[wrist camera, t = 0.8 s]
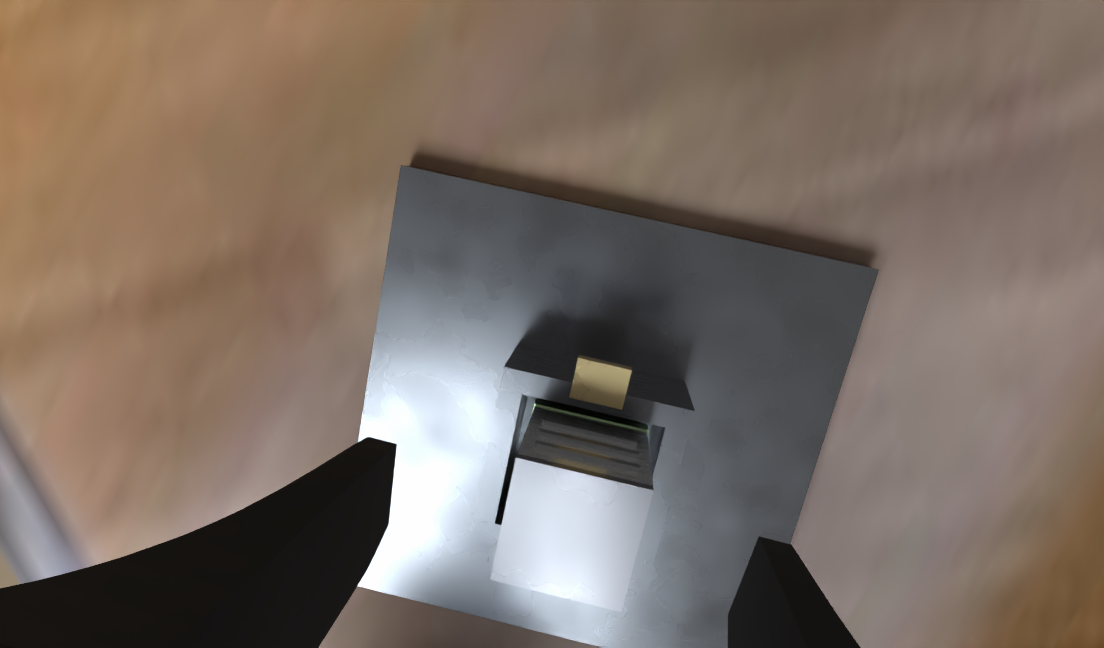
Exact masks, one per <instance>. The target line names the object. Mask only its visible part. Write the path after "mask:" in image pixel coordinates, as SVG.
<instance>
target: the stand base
mask: <svg viewBox="0 0 1104 648" xmlns="http://www.w3.org/2000/svg"><path fill="white" fill-rule="evenodd" d="M877 274H878V269H875V268H872V267H869V266H865V265H861V264H856V263H852V262H847V261H842V260H838V259H833V258H829V257H824V256H819V255H815V254H810V253H806V252H801V251H797V250H792V249H787V248H783V247H778V246H774V245H769V244H764V243H760V242H755V241H751V240H746V239H742V238H737V237H732V236H728V235H723V234H719V233H714V232H709V231H705V230H700V229H696V228H691V227H687V226H682V225H677V224H673V223H668V222H664V221H659V220H654V219H650V218H645V217H641V216H636V215H632V214H627V213H622V212H618V211H613V210H609V209H604V208H599V207H595V206H590V205H586V204H581V203H577V202H572V201H567V200H563V199H558V198H554V197H549V196H544V195H540V194H535V193H531V192H526V191H522V190H517V189H512V188H508V187H503V186H499V185H494V184H489V183H485V182H480V181H476V180H471V179H467V178H462V177H457V176H453V175H448V174H444V173H439V172H434V171H430V170H425V169H421V168H416V167H412V166H403V165H401V168H400V174H399V181H398V187H397V194H396V200H395V207H394V213H393V220H392V226H391V232H390V239H389V245H388V252H387V258H386V265H385V271H384V278H383V284H382V291H381V297H380V304H379V310H378V317H377V323H376V329H375V336H374V342H373V349H372V355H371V362H370V368H369V375H368V381H367V388H366V394H365V401H364V407H363V413H362V420H361V426H360V433H359V439H358V442H360V441H361V440H363V439H365V438H366V437H371V438H375V439H379V440H383V441H387V442H391V443H395V444H397V448H396V458H395V468H394V477H393V487H392V497H391V507H390V517H389V525H388V527H387V529H386V532H385V534H384V536H383V538H382V540H381V542H380V545H379V547H378V549H377V551H376V553H375V555H374V557H373V559H372V561H371V563H370V565H369V567H368V569H367V571H366V573H365V574H364V576H363V578H362V579H361V581H360V582H359V584H358V586H359V587H363V588H367V589H371V590H375V591H379V592H383V593H387V594H391V595H395V596H399V597H403V598H407V599H411V600H415V601H419V602H423V603H427V604H431V605H435V606H439V607H443V608H447V609H451V610H455V611H459V612H463V613H467V614H471V615H475V616H479V617H483V618H487V619H491V620H495V621H499V622H503V623H507V624H511V625H515V626H519V627H523V628H526V629H530V630H534V631H538V632H542V633H546V634H550V635H554V636H558V637H562V638H566V639H570V640H574V641H578V642H582V643H586V644H590V645H594V646H598V647H602V648H728V613H729V610H730V608H731V605H732V603H733V600H734V598H735V595H736V593H737V590H738V588H739V585H740V583H741V580H742V578H743V575H744V572H745V570H746V567H747V565H748V562H749V560H750V557H751V555H752V552H753V550H754V547H755V545H756V542H757V540H758V537H759V536H760V537H764V538H768V539H772V540H776V541H779V542H783V543H787V544H790V542H791V539H792V536H793V533H794V530H795V527H796V524H797V521H798V517H799V514H800V511H801V508H802V505H803V502H804V499H805V496H806V493H807V490H808V487H809V484H810V480H811V477H812V474H813V471H814V468H815V465H816V462H817V459H818V456H819V453H820V450H821V446H822V443H823V440H824V437H825V434H826V431H827V428H828V425H829V422H830V419H831V416H832V412H833V409H834V406H835V403H836V400H837V397H838V394H839V391H840V388H841V385H842V382H843V379H844V375H845V372H846V369H847V366H848V363H849V360H850V357H851V354H852V351H853V348H854V345H855V341H856V338H857V335H858V332H859V329H860V326H861V323H862V320H863V317H864V314H865V311H866V307H867V304H868V301H869V298H870V295H871V292H872V289H873V286H874V283H875V280H876V277H877ZM536 398H541V399H545V400H550V401H554V402H558V403H563V404H567V405H571V406H575V407H580V408H584V409H588V410H592V411H597V412H601V413H605V414H610V415H614V416H618V417H622V418H627V419H631V420H635V421H640V422H644V423H646V424H648V429H649V431H648V435H647V436H648V445H649V454H650V462H651V471H652V479H653V488H654V492H653V495H652V499H651V503H650V507H649V510H648V514H647V518H646V522H645V525H644V529H643V533H642V537H641V540H640V544H639V548H638V552H637V555H636V559H635V563H634V566H633V570H632V574H631V578H630V581H629V585H628V589H627V593H626V596H625V600H624V604H623V608H622V611H621V612H618V611H614V610H610V609H606V608H602V607H598V606H594V605H590V604H586V603H582V602H578V601H574V600H570V599H566V598H562V597H558V596H554V595H550V594H546V593H542V592H538V591H534V590H530V589H526V588H522V587H518V586H514V585H510V584H506V583H502V582H498V581H494V580H490V577H491V572H492V567H493V563H494V558H495V553H496V549H497V544H498V539H499V535H500V530H501V525H502V520H503V516H504V511H505V506H506V502H507V497H508V492H509V488H510V483H511V478H512V474H513V469H514V464H515V460H516V456H517V453H518V451H519V448H520V445H521V443H522V440H523V437H524V435H525V432H526V429H527V426H528V424H529V421H530V418H531V416H532V412H533V407H534V403H535V400H536Z"/></svg>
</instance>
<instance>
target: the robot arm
mask: <svg viewBox="0 0 1104 648" xmlns="http://www.w3.org/2000/svg"><path fill="white" fill-rule="evenodd" d="M396 448H397V444H395V443H391V442H387V441H383V440H379V439H375V438H371V437H366V438H365V439H363V440H361V441H360V442H358V443H356V444H354V445H353V446H351V447H349V448H348V449H346V450H345V451H343V452H341V453H340V454H338V455H337V456H335V457H333V458H332V459H330V460H329V461H327V462H325V463H324V464H322V465H320V466H319V467H317V468H316V469H314V470H312V471H311V472H309V473H307V474H305V475H304V476H302V477H300V478H299V479H297V480H295V481H293V482H292V483H290V484H288V485H287V486H285V487H283V488H281V489H280V490H278V491H276V492H274V493H272V494H270V495H268V496H267V497H265V498H263V499H261V500H259V501H257V502H255V503H253V504H251V505H249V506H248V507H246V508H244V509H242V510H240V511H238V512H236V513H234V514H231V515H229V516H227V517H225V518H223V519H221V520H218V521H216V522H214V523H212V524H209V525H207V526H204V527H202V528H200V529H197V530H195V531H193V532H190V533H188V534H185V535H183V536H180V537H178V538H175V539H172V540H169V541H167V542H164V543H161V544H158V545H155V546H152V547H150V548H147V549H144V550H141V551H138V552H136V553H133V554H130V555H127V556H124V557H121V558H118V559H115V560H111V561H108V562H105V563H101V564H98V565H94V566H91V567H88V568H84V569H80V570H77V571H73V572H69V573H65V574H62V575H58V576H54V577H50V578H46V579H42V580H38V581H33V582H29V583H24V584H19V585H15V586H10V587H5V588H1V589H0V648H318V647H319V645H320V644H321V642H322V641H323V639H324V638H325V636H326V634H327V633H328V631H329V630H330V628H331V627H332V625H333V623H334V622H335V620H336V619H337V617H338V616H339V614H340V612H341V611H342V609H343V608H344V606H345V605H346V603H347V601H348V600H349V598H350V597H351V595H352V593H353V592H354V590H355V589H356V587H357V586H358V584H359V582H360V581H361V579H362V578H363V576H364V574H365V573H366V571H367V569H368V567H369V565H370V563H371V561H372V559H373V557H374V555H375V553H376V551H377V549H378V547H379V545H380V542H381V540H382V538H383V536H384V534H385V532H386V529H387V527H388V525H389V517H390V507H391V497H392V487H393V477H394V468H395V458H396ZM728 648H860V646H859V645H858V644H857V642H856V641H855V639H854V638H853V637H852V635H851V634H850V632H849V631H848V630H847V628H846V627H845V625H844V624H843V622H842V621H841V619H840V618H839V616H838V615H837V614H836V612H835V611H834V609H833V608H832V606H831V605H830V603H829V602H828V600H827V599H826V597H825V596H824V594H823V592H822V591H821V589H820V588H819V586H818V585H817V583H816V582H815V580H814V579H813V577H812V576H811V574H810V572H809V571H808V569H807V568H806V566H805V565H804V563H803V562H802V560H801V559H800V557H799V556H798V554H797V552H796V551H795V550H794V548H793V547H792V545H791V544H787V543H783V542H779V541H776V540H772V539H768V538H764V537H760V536H759V537H758V540H757V542H756V545H755V547H754V550H753V552H752V555H751V557H750V560H749V562H748V565H747V567H746V570H745V572H744V575H743V578H742V580H741V583H740V585H739V588H738V590H737V593H736V595H735V598H734V600H733V603H732V605H731V608H730V610H729V613H728Z"/></svg>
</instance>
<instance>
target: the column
mask: <svg viewBox="0 0 1104 648" xmlns="http://www.w3.org/2000/svg"><path fill="white" fill-rule="evenodd" d="M648 431H649V429H648V424H646V423H644V422H640V421H635V420H631V419H627V418H622V417H618V416H614V415H610V414H605V413H601V412H597V411H592V410H588V409H584V408H580V407H575V406H571V405H567V404H563V403H558V402H554V401H550V400H545V399H541V398H536V400H535V403H534V407H533V412H532V416H531V418H530V421H529V424H528V426H527V429H526V432H525V435H524V437H523V440H522V443H521V445H520V448H519V451H518V453H517V456H516V460H515V464H514V469H513V474H512V478H511V483H510V488H509V492H508V497H507V502H506V506H505V511H504V516H503V520H502V525H501V530H500V535H499V539H498V544H497V549H496V553H495V558H494V563H493V567H492V572H491V577H490V580H494V581H498V582H502V583H506V584H510V585H514V586H518V587H522V588H526V589H530V590H534V591H538V592H542V593H546V594H550V595H554V596H558V597H562V598H566V599H570V600H574V601H578V602H582V603H586V604H590V605H594V606H598V607H602V608H606V609H610V610H614V611H618V612H621V611H622V608H623V604H624V600H625V596H626V593H627V589H628V585H629V581H630V578H631V574H632V570H633V566H634V563H635V559H636V555H637V552H638V548H639V544H640V540H641V537H642V533H643V529H644V525H645V522H646V518H647V514H648V510H649V507H650V503H651V499H652V495H653V492H654V488H653V479H652V471H651V462H650V454H649V445H648V436H647V435H648Z"/></svg>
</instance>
